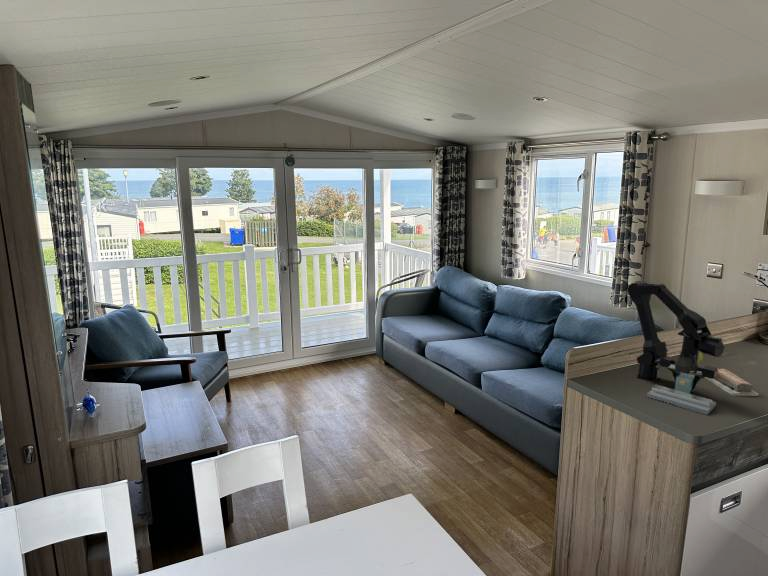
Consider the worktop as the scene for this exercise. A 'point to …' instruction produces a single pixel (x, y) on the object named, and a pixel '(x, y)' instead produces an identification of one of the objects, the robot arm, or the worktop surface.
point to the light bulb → (699, 359)
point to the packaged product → (732, 384)
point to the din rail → (682, 395)
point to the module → (684, 383)
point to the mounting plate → (681, 402)
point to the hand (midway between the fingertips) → (684, 388)
